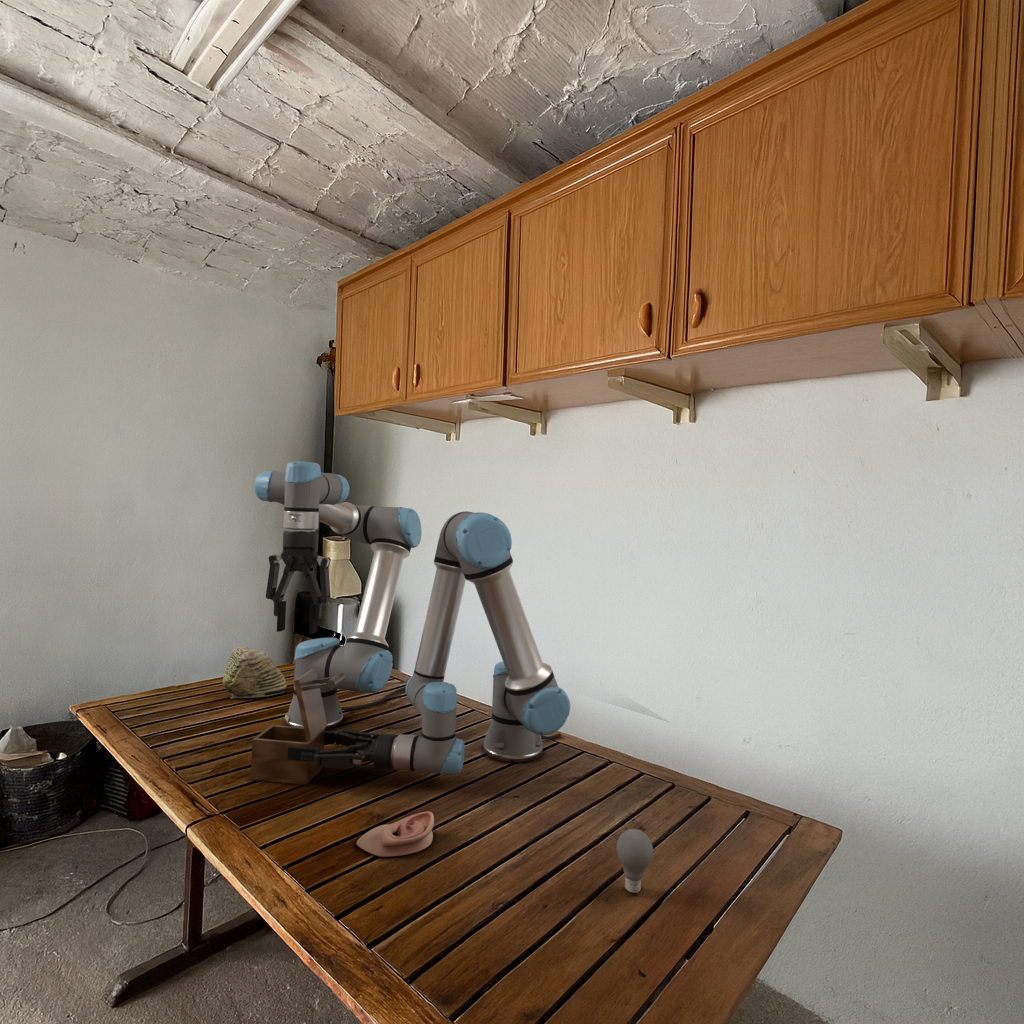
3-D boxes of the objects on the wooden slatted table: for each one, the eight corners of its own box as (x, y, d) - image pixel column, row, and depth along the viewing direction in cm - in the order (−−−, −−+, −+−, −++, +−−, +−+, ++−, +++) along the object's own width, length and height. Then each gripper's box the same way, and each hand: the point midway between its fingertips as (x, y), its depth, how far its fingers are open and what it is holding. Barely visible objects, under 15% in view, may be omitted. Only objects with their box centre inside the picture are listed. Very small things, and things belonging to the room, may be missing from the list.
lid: (293, 680, 139) (330, 673, 138) (311, 669, 148) (345, 663, 147) (306, 741, 139) (342, 735, 138) (322, 726, 148) (357, 720, 147)
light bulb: (610, 879, 108) (613, 822, 108) (644, 879, 109) (647, 822, 109) (619, 902, 102) (622, 840, 102) (655, 901, 103) (658, 840, 103)
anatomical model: (349, 829, 113) (376, 800, 125) (348, 851, 113) (375, 820, 125) (420, 841, 111) (440, 810, 122) (419, 863, 111) (439, 830, 122)
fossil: (218, 695, 195) (220, 647, 195) (278, 685, 208) (279, 640, 207) (228, 703, 189) (230, 653, 188) (289, 692, 201) (290, 645, 201)
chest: (250, 779, 140) (252, 739, 140) (270, 762, 149) (271, 724, 149) (307, 784, 139) (308, 744, 139) (323, 767, 148) (325, 729, 148)
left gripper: (250, 528, 140) (246, 632, 141) (337, 533, 138) (333, 637, 139) (266, 527, 148) (262, 625, 148) (349, 531, 146) (345, 630, 146)
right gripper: (379, 790, 131) (275, 781, 133) (406, 749, 153) (316, 742, 155) (381, 754, 131) (276, 746, 133) (408, 718, 153) (317, 711, 155)
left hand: (297, 631), depth 143 cm, fingers open, 7 cm apart
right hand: (298, 744), depth 144 cm, fingers closed on chest, 9 cm apart
